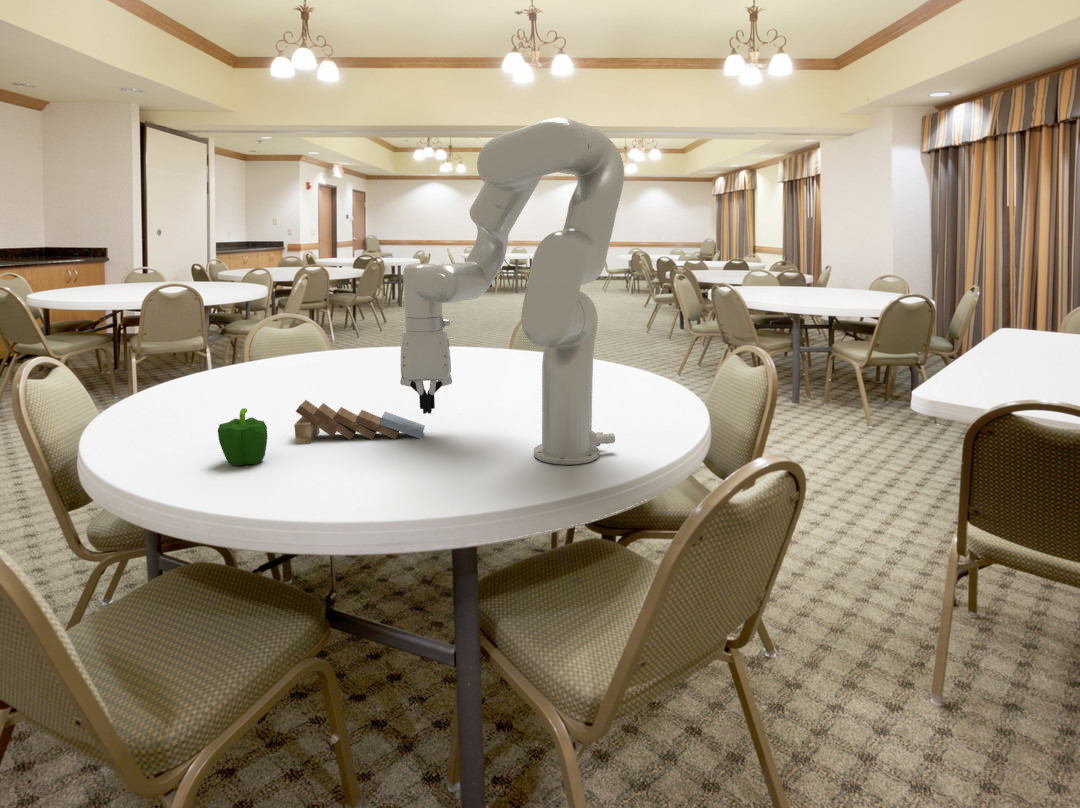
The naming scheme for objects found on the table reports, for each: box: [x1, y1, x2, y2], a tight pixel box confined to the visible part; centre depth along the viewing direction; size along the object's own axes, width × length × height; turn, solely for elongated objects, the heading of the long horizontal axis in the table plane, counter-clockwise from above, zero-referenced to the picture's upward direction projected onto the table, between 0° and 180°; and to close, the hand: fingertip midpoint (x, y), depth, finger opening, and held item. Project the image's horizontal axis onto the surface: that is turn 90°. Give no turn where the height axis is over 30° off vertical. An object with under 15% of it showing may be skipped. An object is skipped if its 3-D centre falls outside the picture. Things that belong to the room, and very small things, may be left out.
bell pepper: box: [217, 407, 268, 467], centre depth 131 cm, size 8×8×10 cm
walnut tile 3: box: [313, 402, 357, 441], centre depth 148 cm, size 2×5×9 cm
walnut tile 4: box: [295, 399, 338, 438], centre depth 148 cm, size 2×5×9 cm
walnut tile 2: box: [333, 406, 377, 441], centre depth 149 cm, size 2×5×9 cm
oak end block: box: [294, 416, 321, 444], centre depth 148 cm, size 3×8×4 cm, turn 4°
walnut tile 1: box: [355, 409, 400, 440], centre depth 149 cm, size 2×5×9 cm
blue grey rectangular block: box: [379, 411, 426, 439], centre depth 149 cm, size 2×5×9 cm
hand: (427, 411), depth 149 cm, fingers closed
